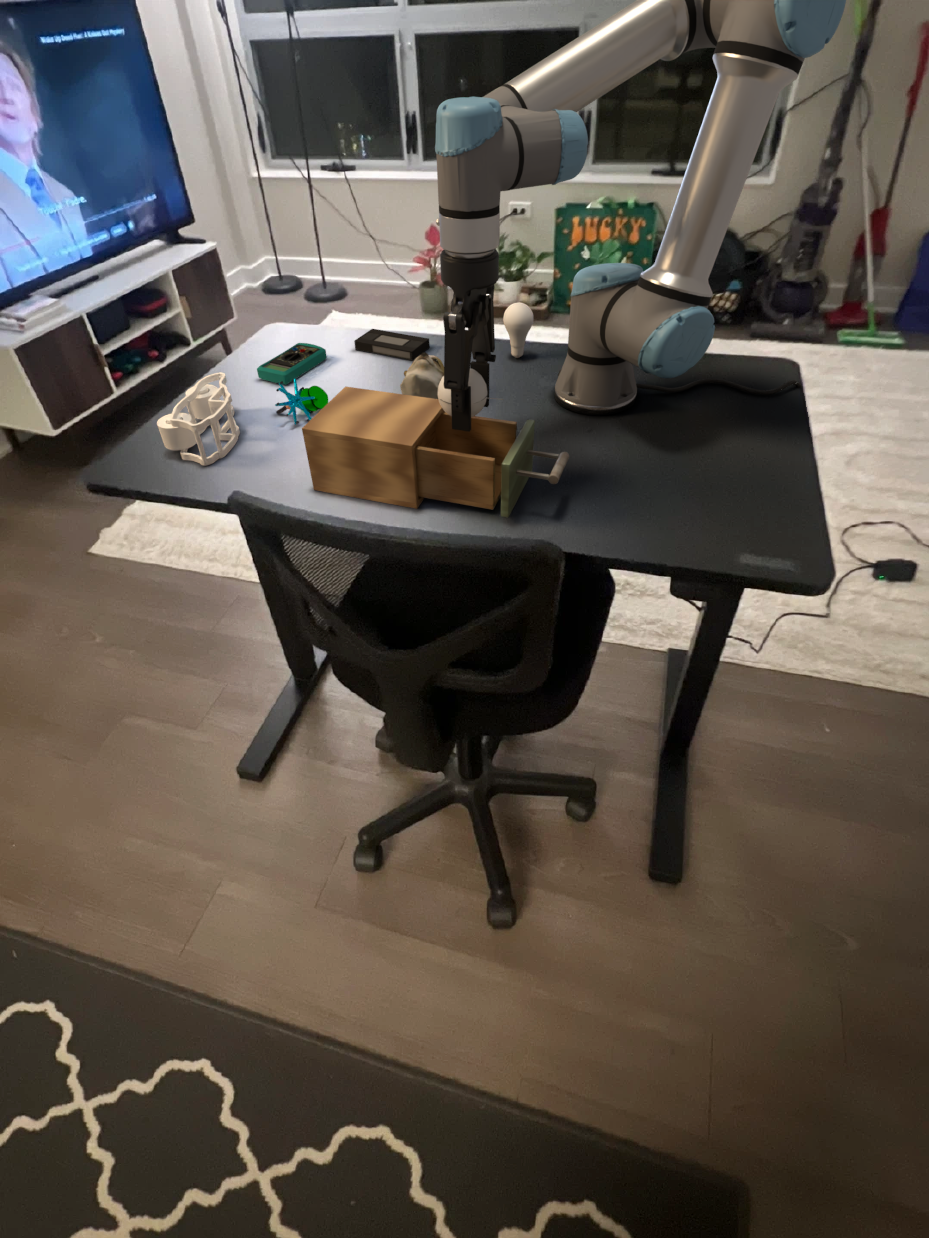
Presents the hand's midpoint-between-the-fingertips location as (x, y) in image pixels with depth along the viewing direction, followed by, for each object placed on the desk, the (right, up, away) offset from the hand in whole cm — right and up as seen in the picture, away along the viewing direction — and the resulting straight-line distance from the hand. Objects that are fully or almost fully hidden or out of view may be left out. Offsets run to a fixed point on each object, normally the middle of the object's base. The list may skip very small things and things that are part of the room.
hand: (471, 416), depth 106 cm
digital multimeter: (-36, +21, +41) cm, 59 cm away
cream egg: (0, -1, 0) cm, 1 cm away
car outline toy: (-46, +2, +22) cm, 51 cm away
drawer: (+3, -10, +5) cm, 11 cm away
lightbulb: (+10, +25, +43) cm, 51 cm away
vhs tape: (-17, +28, +48) cm, 58 cm away
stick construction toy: (-32, +8, +27) cm, 43 cm away
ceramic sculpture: (-8, +13, +32) cm, 35 cm away
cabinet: (-14, -7, +11) cm, 19 cm away
